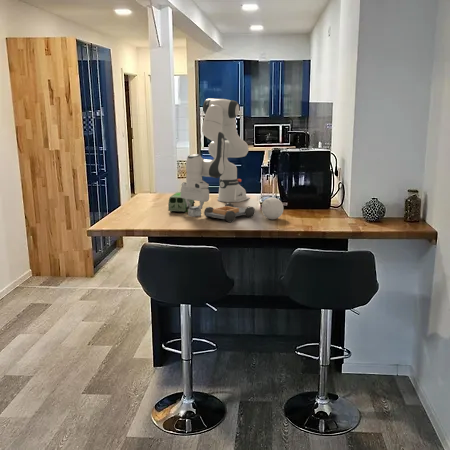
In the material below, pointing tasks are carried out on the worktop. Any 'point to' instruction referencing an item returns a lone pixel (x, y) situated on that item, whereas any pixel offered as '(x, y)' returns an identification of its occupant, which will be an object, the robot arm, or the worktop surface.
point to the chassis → (229, 212)
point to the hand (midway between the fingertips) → (194, 207)
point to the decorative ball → (272, 208)
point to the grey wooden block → (194, 211)
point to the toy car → (178, 203)
